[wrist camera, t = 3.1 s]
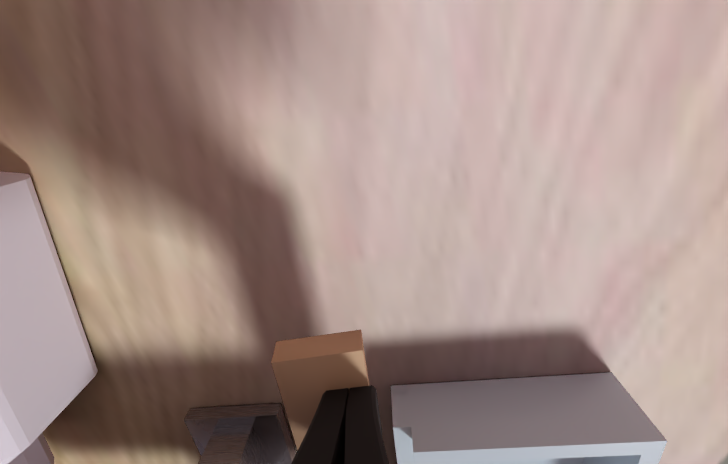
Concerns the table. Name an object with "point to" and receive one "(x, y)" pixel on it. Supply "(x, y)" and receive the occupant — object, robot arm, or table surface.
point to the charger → (34, 328)
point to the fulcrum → (241, 434)
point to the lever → (316, 373)
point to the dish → (523, 422)
